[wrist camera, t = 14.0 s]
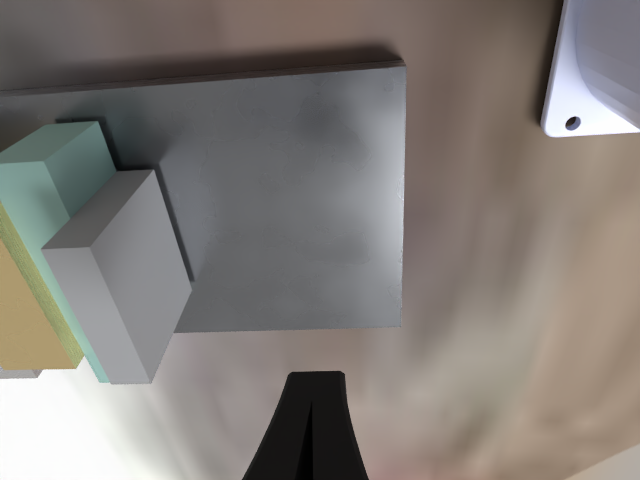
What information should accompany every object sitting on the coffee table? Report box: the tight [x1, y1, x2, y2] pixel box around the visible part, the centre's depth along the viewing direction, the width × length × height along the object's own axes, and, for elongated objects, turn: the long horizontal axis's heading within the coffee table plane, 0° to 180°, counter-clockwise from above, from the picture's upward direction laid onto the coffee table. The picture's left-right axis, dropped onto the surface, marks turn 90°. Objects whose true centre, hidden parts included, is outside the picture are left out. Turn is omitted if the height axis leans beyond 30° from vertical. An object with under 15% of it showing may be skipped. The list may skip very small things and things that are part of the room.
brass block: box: [0, 201, 84, 370], centre depth 18 cm, size 3×7×4 cm, turn 5°
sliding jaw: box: [0, 121, 192, 384], centre depth 17 cm, size 4×10×5 cm, turn 5°
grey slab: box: [0, 60, 406, 379], centre depth 18 cm, size 20×12×6 cm, turn 95°
